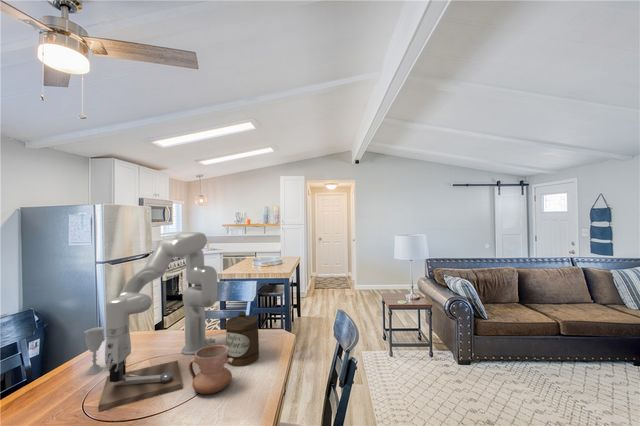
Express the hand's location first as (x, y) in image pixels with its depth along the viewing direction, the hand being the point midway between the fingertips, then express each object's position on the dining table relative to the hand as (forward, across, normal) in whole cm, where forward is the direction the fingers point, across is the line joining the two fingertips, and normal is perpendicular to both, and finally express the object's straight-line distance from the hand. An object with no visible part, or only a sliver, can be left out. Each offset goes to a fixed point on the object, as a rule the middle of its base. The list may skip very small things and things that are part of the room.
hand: (117, 377), depth 113 cm
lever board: (+5, +2, -8) cm, 10 cm away
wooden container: (+5, +18, -45) cm, 49 cm away
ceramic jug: (+5, -4, -36) cm, 36 cm away
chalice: (+5, +17, +18) cm, 26 cm away
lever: (+2, 0, -9) cm, 9 cm away
